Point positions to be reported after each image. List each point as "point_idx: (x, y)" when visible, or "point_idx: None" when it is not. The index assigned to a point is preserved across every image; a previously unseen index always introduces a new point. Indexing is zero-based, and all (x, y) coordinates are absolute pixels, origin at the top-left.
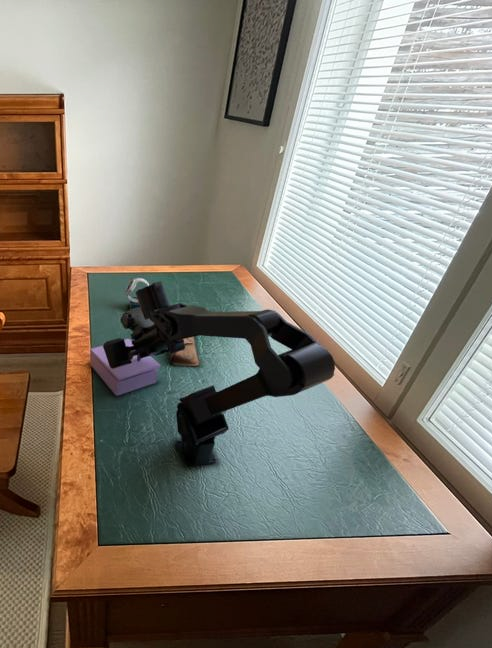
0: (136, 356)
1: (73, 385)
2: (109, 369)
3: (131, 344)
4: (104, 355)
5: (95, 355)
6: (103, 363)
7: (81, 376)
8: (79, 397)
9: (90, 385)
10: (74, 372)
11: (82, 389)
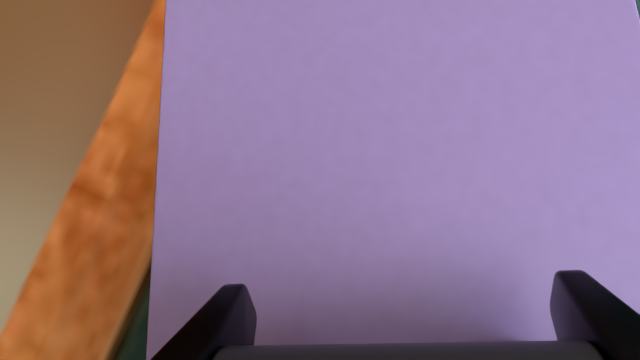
0: (525, 264)
1: (60, 211)
2: (152, 346)
3: (583, 9)
4: (217, 113)
5: (167, 71)
6: (160, 220)
7: (135, 147)
8: (42, 331)
9: (144, 252)
10: (116, 97)
11: (87, 268)
